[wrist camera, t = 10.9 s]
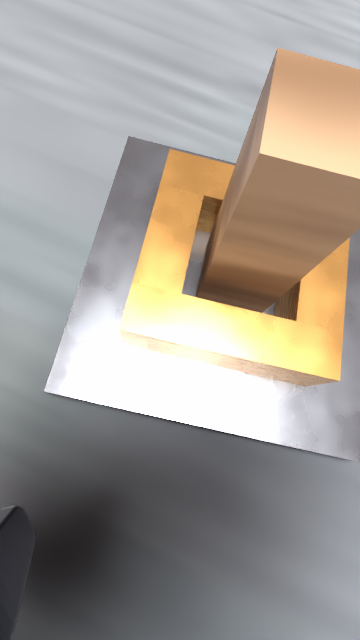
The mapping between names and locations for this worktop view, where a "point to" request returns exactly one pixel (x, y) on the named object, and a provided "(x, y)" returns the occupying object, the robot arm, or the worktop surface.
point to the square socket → (207, 320)
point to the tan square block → (288, 185)
